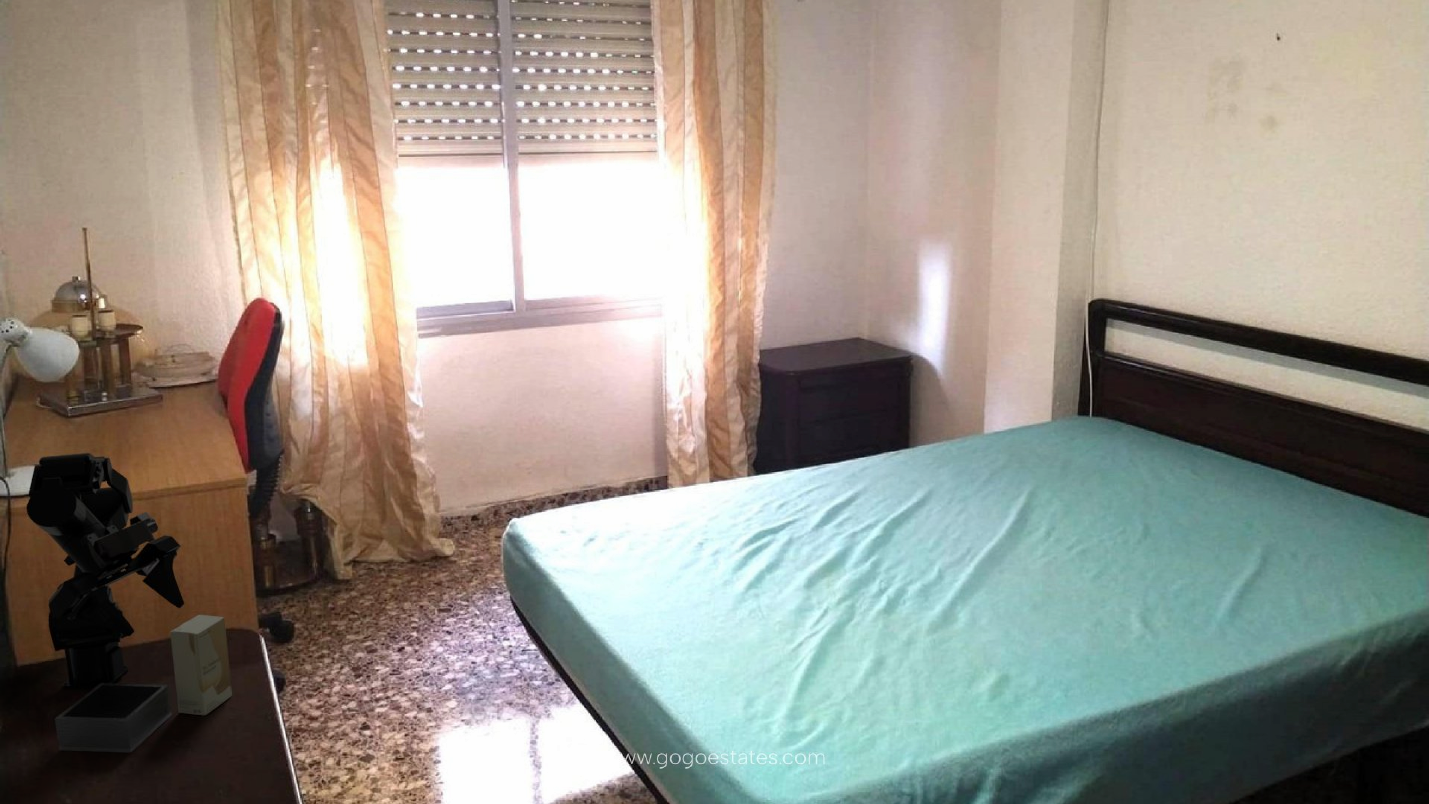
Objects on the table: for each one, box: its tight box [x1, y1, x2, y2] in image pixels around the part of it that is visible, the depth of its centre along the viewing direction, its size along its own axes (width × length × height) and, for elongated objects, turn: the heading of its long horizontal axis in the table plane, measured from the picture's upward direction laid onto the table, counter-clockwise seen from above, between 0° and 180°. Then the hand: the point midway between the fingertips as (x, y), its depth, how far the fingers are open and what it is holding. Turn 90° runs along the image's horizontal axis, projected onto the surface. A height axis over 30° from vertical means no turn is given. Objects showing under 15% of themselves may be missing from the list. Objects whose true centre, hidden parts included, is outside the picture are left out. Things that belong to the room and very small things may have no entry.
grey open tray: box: [54, 682, 173, 753], centre depth 142 cm, size 10×10×4 cm
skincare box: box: [169, 614, 233, 716], centre depth 149 cm, size 6×4×12 cm
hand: (157, 619), depth 148 cm, fingers open, 9 cm apart
